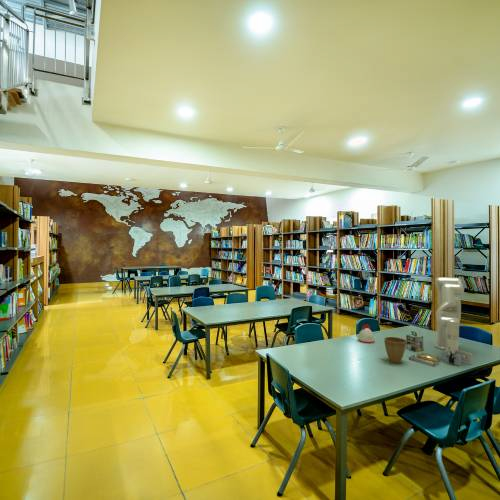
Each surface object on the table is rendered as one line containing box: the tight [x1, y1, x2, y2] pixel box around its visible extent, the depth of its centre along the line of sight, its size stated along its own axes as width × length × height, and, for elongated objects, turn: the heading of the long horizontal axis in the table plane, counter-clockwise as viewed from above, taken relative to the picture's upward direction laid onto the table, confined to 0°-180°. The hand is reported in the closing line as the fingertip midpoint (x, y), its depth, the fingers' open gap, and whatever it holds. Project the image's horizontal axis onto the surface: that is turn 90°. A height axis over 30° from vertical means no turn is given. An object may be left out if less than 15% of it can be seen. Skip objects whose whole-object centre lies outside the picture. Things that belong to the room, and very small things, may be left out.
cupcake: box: [357, 323, 376, 345], centre depth 280 cm, size 14×14×15 cm
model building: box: [405, 330, 425, 353], centre depth 257 cm, size 9×9×15 cm
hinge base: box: [408, 352, 444, 367], centre depth 233 cm, size 18×19×3 cm
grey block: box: [443, 350, 462, 367], centre depth 227 cm, size 3×10×7 cm, turn 37°
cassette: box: [456, 349, 473, 366], centre depth 229 cm, size 12×2×8 cm, turn 19°
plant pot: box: [383, 336, 407, 364], centre depth 231 cm, size 15×15×16 cm
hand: (452, 362), depth 227 cm, fingers closed on grey block, 3 cm apart
